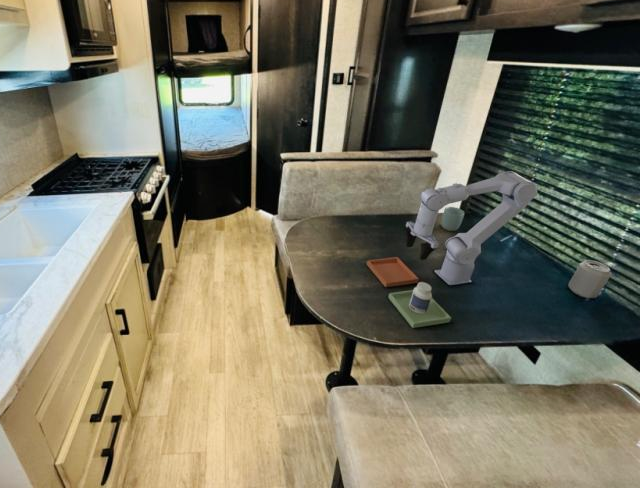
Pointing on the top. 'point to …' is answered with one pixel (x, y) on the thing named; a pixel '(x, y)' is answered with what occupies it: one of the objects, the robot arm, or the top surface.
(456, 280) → the robot arm
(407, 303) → the sage tray
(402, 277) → the terracotta tray
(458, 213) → the cup
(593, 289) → the beige cylinder
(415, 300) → the pill bottle
